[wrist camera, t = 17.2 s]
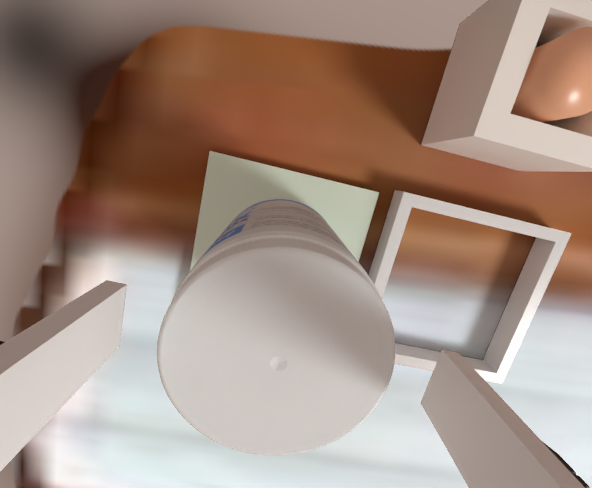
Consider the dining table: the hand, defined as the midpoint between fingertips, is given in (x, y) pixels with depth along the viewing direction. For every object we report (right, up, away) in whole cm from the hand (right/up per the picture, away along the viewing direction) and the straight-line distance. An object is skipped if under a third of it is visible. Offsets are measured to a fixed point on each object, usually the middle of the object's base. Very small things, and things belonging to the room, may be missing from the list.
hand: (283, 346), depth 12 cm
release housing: (+16, +16, +12) cm, 26 cm away
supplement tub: (-1, +3, +13) cm, 14 cm away
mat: (-1, +4, +14) cm, 15 cm away
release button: (+16, +15, +10) cm, 24 cm away
